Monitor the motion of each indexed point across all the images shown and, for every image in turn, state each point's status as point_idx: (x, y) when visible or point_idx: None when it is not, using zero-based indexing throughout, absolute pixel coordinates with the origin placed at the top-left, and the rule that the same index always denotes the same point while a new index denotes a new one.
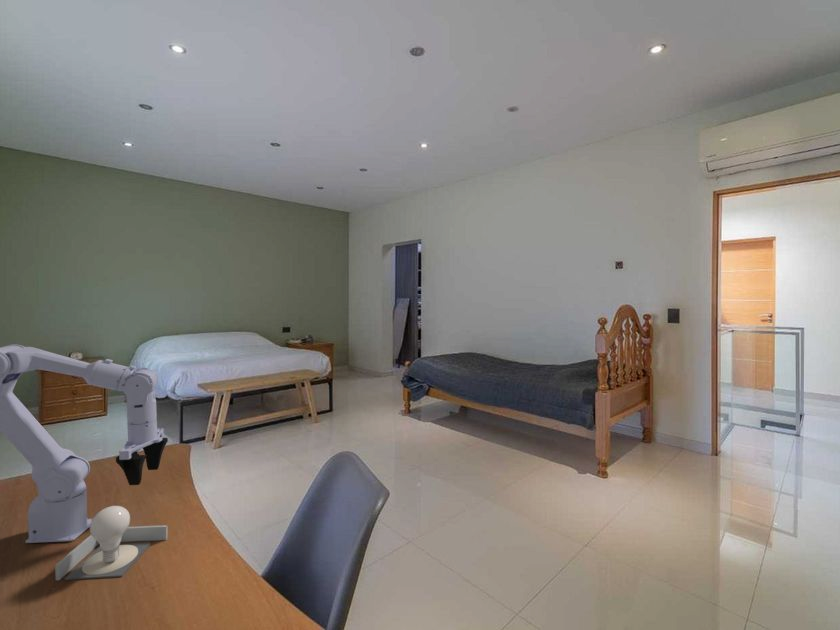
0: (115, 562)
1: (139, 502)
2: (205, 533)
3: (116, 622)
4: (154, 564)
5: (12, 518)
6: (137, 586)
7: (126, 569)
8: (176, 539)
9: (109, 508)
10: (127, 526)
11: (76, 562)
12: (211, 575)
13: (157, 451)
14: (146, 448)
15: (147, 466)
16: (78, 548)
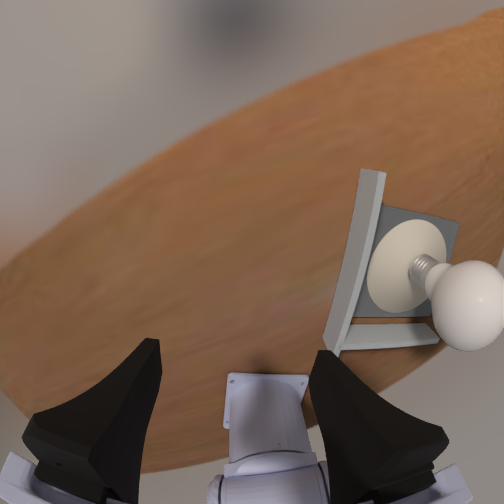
0: (425, 253)
1: (141, 321)
2: (355, 73)
3: None
4: (443, 171)
5: (201, 461)
6: (481, 185)
7: (448, 221)
8: (370, 143)
9: (500, 328)
10: (476, 260)
11: (395, 326)
12: (475, 68)
13: (125, 419)
14: (134, 471)
15: (158, 387)
16: (401, 341)
